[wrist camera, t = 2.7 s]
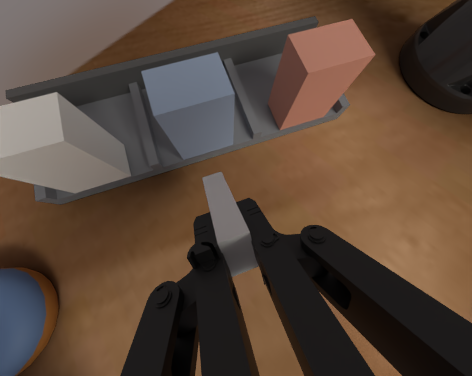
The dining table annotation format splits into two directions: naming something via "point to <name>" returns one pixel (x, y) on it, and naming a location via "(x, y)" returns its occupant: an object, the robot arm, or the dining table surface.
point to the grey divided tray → (140, 112)
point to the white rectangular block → (57, 146)
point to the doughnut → (24, 317)
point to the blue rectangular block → (193, 104)
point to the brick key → (317, 71)
